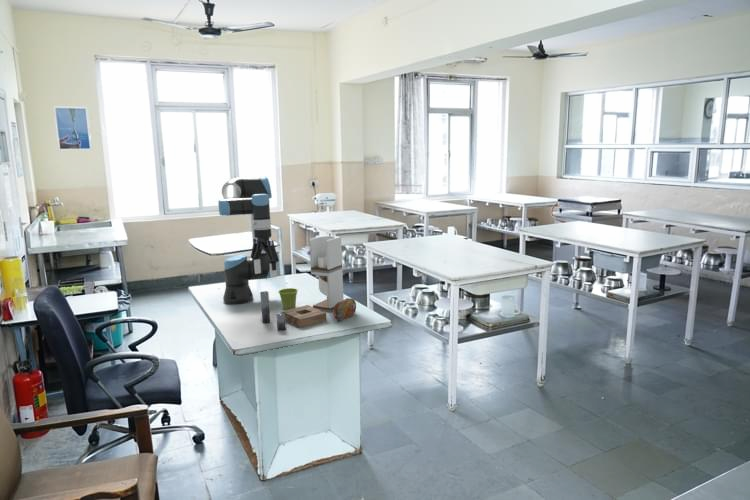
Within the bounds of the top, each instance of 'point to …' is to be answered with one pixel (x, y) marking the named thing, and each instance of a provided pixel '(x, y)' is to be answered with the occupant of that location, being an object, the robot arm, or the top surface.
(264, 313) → the tall pin
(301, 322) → the hole block
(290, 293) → the plant pot
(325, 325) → the top surface
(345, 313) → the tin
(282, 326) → the short pin
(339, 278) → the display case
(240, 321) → the top surface
